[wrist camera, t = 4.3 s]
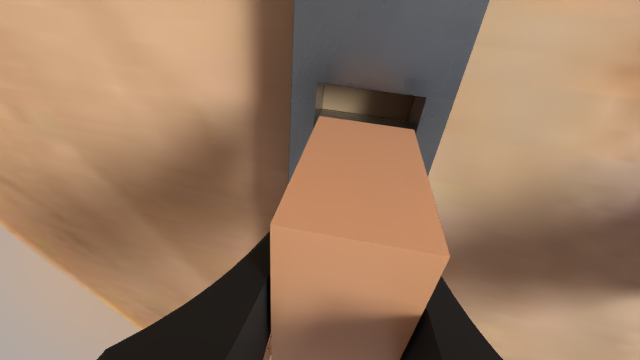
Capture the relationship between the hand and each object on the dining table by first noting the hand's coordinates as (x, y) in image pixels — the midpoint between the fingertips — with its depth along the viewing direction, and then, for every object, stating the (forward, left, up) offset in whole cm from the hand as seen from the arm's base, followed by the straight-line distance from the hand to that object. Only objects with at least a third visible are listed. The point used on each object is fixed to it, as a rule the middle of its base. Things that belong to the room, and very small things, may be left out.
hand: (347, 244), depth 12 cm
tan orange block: (0, 0, -3) cm, 3 cm away
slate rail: (0, 0, -9) cm, 9 cm away
